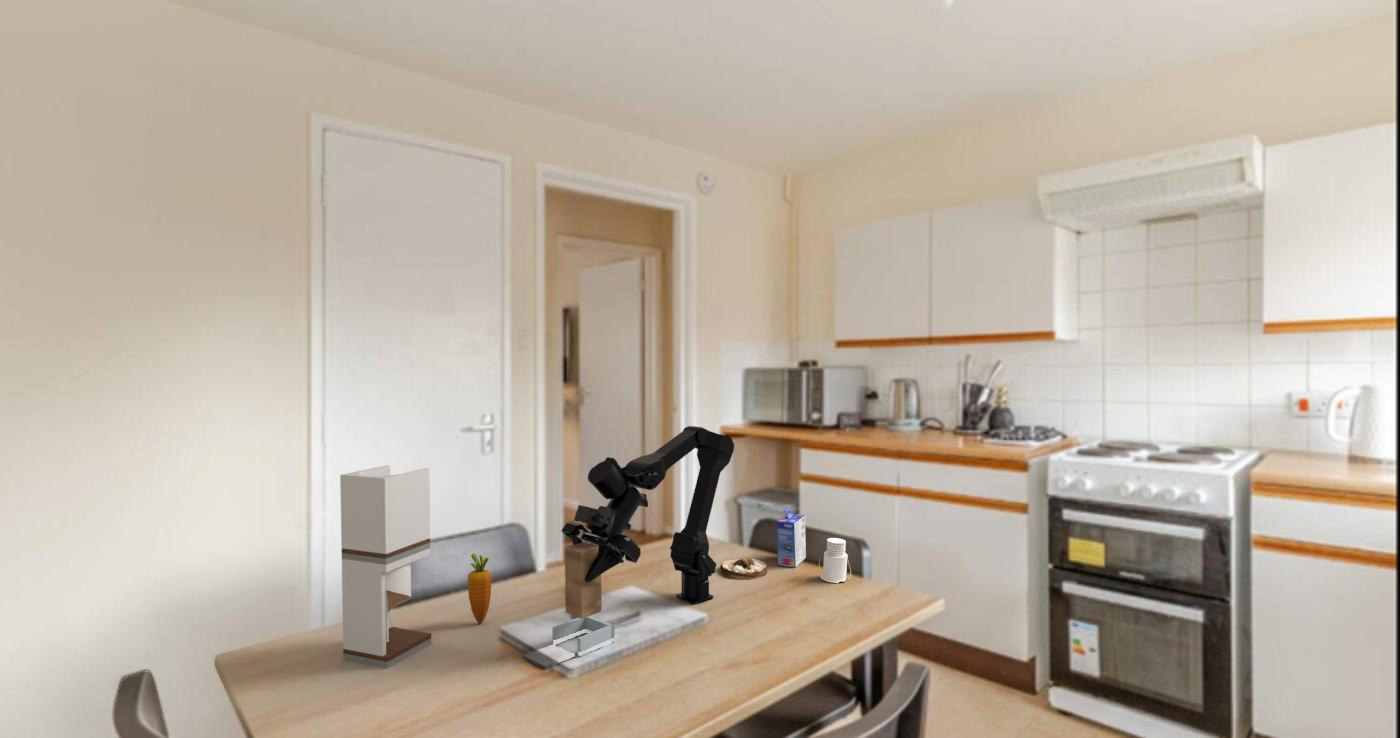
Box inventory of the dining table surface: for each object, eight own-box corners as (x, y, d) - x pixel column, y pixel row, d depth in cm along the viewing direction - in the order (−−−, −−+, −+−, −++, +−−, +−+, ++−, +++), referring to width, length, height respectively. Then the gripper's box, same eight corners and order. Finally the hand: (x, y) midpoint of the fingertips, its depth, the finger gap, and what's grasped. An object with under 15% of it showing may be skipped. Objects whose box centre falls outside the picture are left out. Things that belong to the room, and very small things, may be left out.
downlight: (818, 582, 176) (820, 542, 175) (818, 573, 182) (820, 535, 182) (851, 585, 174) (853, 545, 174) (849, 576, 181) (851, 538, 181)
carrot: (496, 623, 150) (495, 553, 149) (475, 630, 146) (474, 558, 146) (484, 617, 153) (483, 549, 153) (463, 623, 149) (462, 554, 149)
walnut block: (585, 605, 143) (584, 541, 142) (601, 611, 140) (601, 546, 139) (565, 612, 139) (564, 547, 139) (581, 618, 136) (581, 552, 135)
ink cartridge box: (787, 555, 198) (787, 504, 198) (806, 558, 196) (806, 506, 196) (776, 565, 189) (776, 512, 189) (795, 568, 187) (796, 514, 187)
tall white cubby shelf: (387, 668, 129) (384, 478, 128) (343, 659, 133) (340, 474, 131) (431, 643, 140) (429, 468, 138) (389, 636, 143) (386, 465, 142)
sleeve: (586, 631, 146) (586, 614, 145) (614, 642, 140) (614, 625, 140) (520, 657, 133) (520, 638, 133) (548, 670, 128) (548, 651, 128)
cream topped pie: (714, 564, 192) (714, 549, 192) (769, 564, 192) (769, 549, 191) (715, 582, 177) (715, 566, 177) (774, 583, 177) (775, 566, 177)
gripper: (568, 483, 148) (524, 547, 140) (629, 495, 135) (585, 566, 127) (597, 513, 154) (557, 576, 146) (658, 528, 142) (618, 597, 134)
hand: (577, 578), depth 138 cm, fingers closed on walnut block, 5 cm apart
